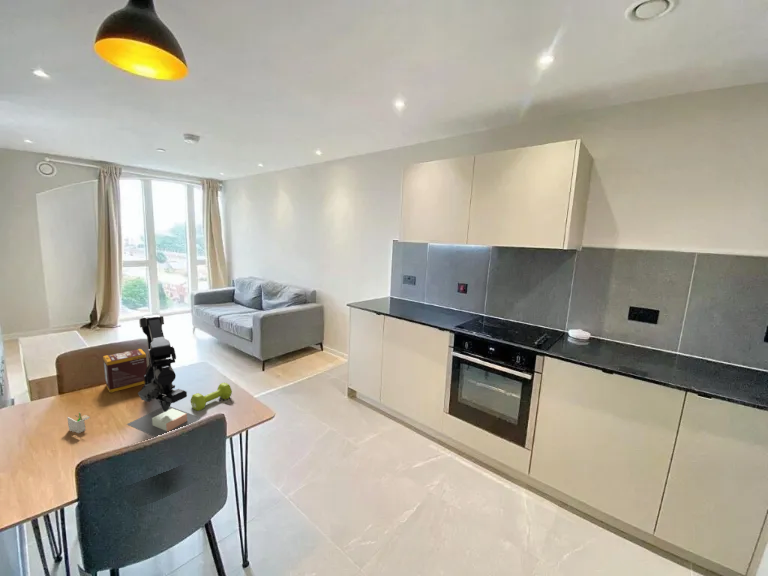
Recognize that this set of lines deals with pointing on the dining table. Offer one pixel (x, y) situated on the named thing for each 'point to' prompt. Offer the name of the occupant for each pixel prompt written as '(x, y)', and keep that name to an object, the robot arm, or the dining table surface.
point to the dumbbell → (210, 396)
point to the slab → (169, 419)
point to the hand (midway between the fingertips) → (165, 411)
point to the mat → (147, 427)
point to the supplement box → (125, 369)
